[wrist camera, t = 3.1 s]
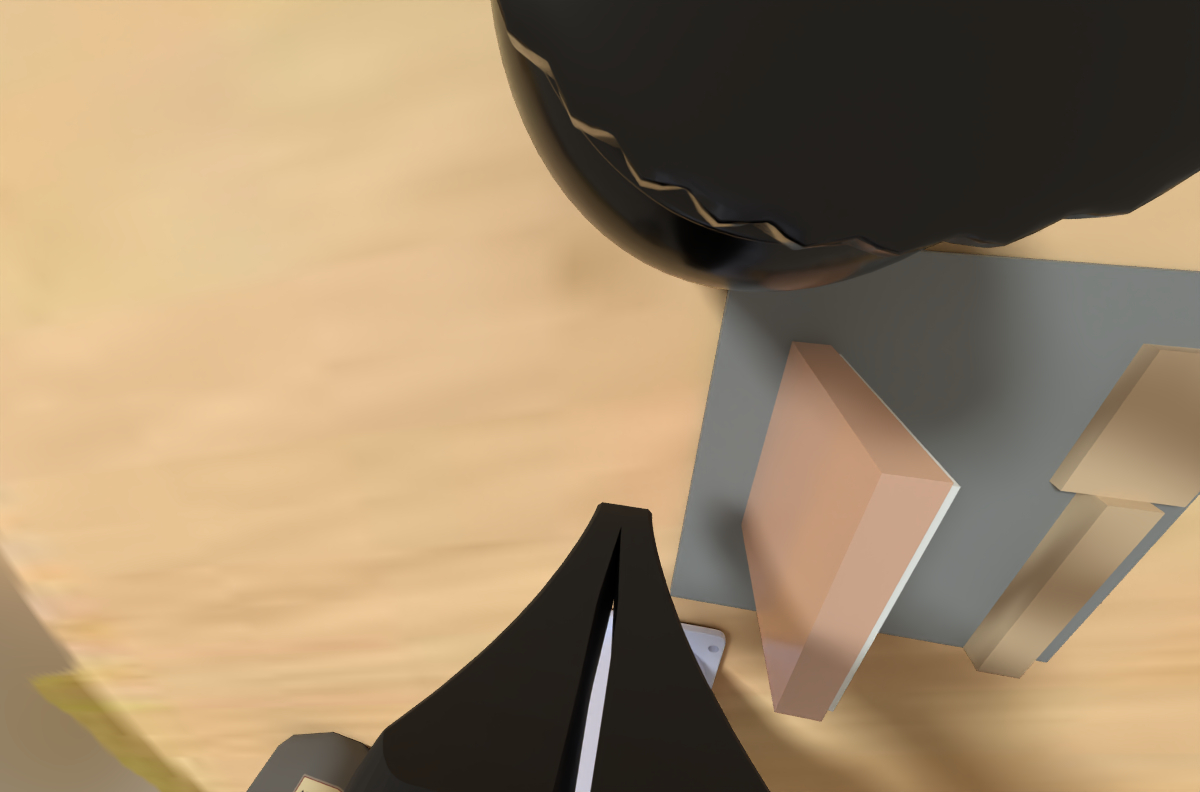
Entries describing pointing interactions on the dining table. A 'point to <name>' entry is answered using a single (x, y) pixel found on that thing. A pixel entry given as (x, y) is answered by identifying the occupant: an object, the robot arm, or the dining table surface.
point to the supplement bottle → (849, 123)
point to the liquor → (311, 764)
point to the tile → (833, 526)
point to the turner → (1102, 505)
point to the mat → (940, 410)
